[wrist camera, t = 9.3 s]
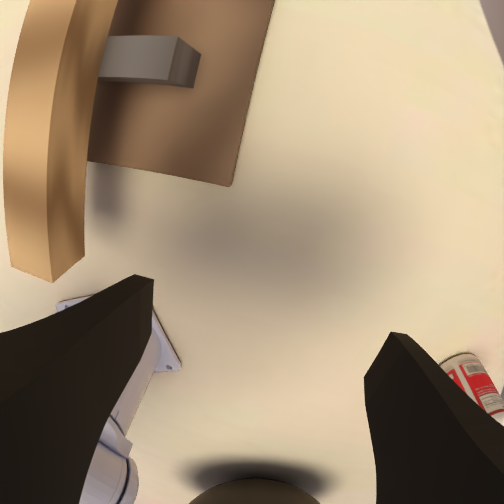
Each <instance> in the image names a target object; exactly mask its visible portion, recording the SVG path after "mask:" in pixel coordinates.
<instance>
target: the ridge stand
mask: <svg viewBox="0 0 504 504" xmlns="http://www.w3.org/2000/svg"><path fill="white" fill-rule="evenodd" d="M274 2H275V0H118V2H117V5H116V8H115V12H114V15H113V18H112V22H111V25H110V29H109V32H108V36H107V40H106V44H105V48H104V52H103V57H102V61H101V66H100V70H99V75H98V80H97V86H96V91H95V97H94V103H93V110H92V117H91V124H90V132H89V141H88V152H87V161H91V162H98V163H104V164H111V165H117V166H123V167H129V168H135V169H140V170H146V171H152V172H157V173H162V174H168V175H173V176H178V177H183V178H188V179H193V180H198V181H203V182H208V183H213V184H217V185H222V186H226V187H230V185H231V184H232V181H233V176H234V171H235V166H236V162H237V157H238V152H239V148H240V143H241V138H242V134H243V129H244V125H245V120H246V116H247V112H248V107H249V103H250V98H251V94H252V90H253V86H254V81H255V77H256V73H257V69H258V65H259V61H260V57H261V53H262V49H263V44H264V41H265V37H266V33H267V29H268V25H269V21H270V17H271V13H272V9H273V6H274Z"/></svg>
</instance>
